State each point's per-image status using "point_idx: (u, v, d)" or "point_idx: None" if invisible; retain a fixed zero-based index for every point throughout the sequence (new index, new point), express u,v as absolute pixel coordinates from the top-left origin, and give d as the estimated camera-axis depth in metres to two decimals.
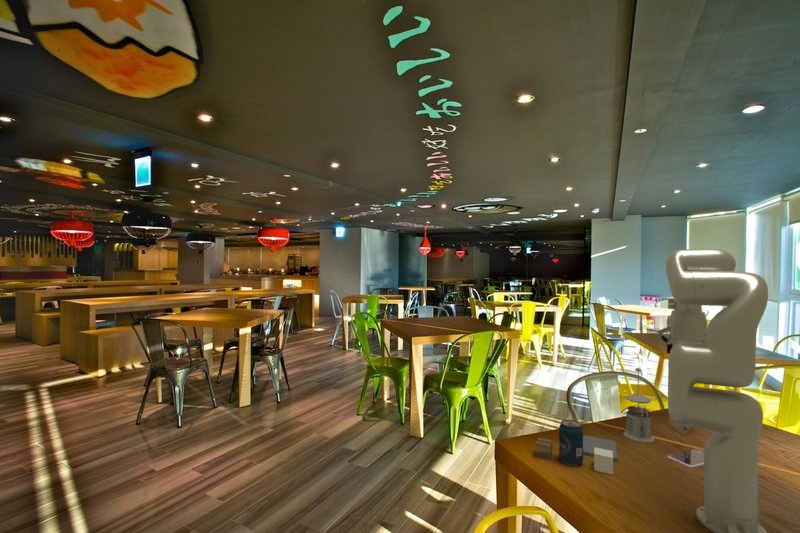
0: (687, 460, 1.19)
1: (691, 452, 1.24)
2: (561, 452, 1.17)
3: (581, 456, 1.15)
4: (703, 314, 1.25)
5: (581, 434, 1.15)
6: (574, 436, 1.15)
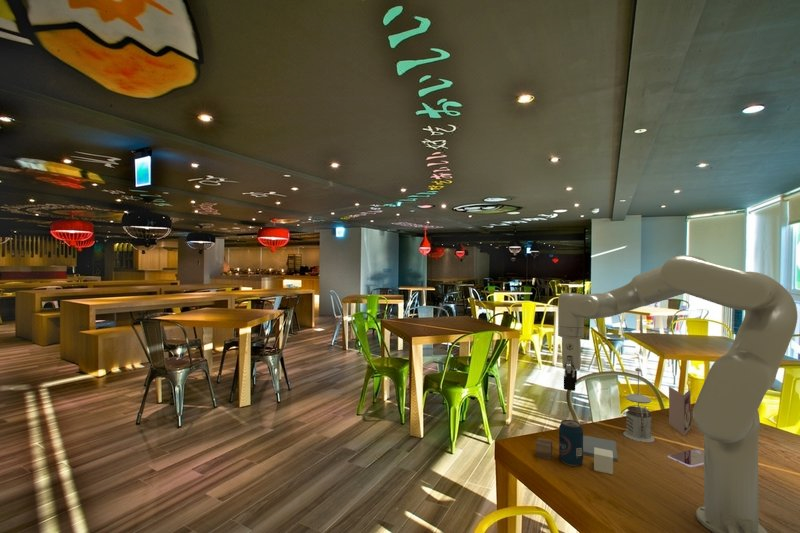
0: (687, 460, 1.19)
1: (691, 452, 1.24)
2: (561, 452, 1.17)
3: (581, 456, 1.15)
4: None
5: (581, 434, 1.15)
6: (574, 436, 1.15)
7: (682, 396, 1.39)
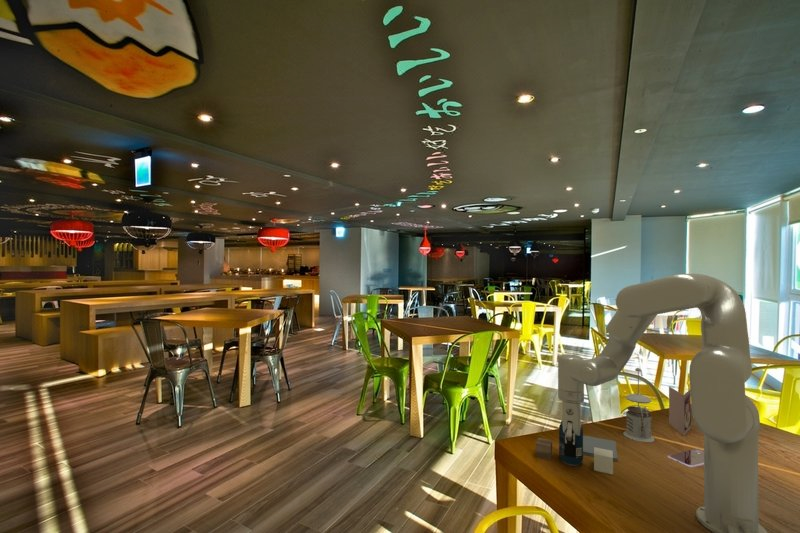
0: (687, 460, 1.18)
1: (691, 452, 1.24)
2: (561, 452, 1.17)
3: (581, 456, 1.15)
4: None
5: (581, 434, 1.16)
6: None
7: (682, 396, 1.39)
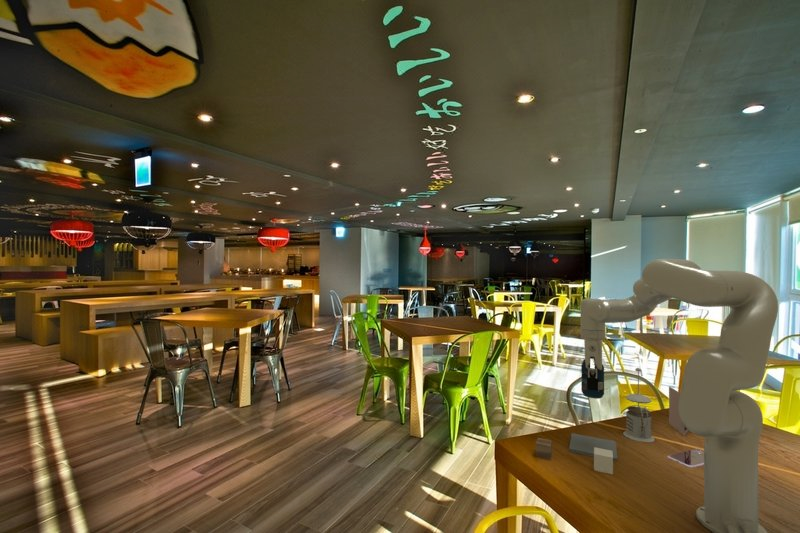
0: (687, 460, 1.18)
1: (691, 452, 1.24)
2: (584, 387, 1.27)
3: (603, 389, 1.25)
4: None
5: (602, 369, 1.26)
6: None
7: None
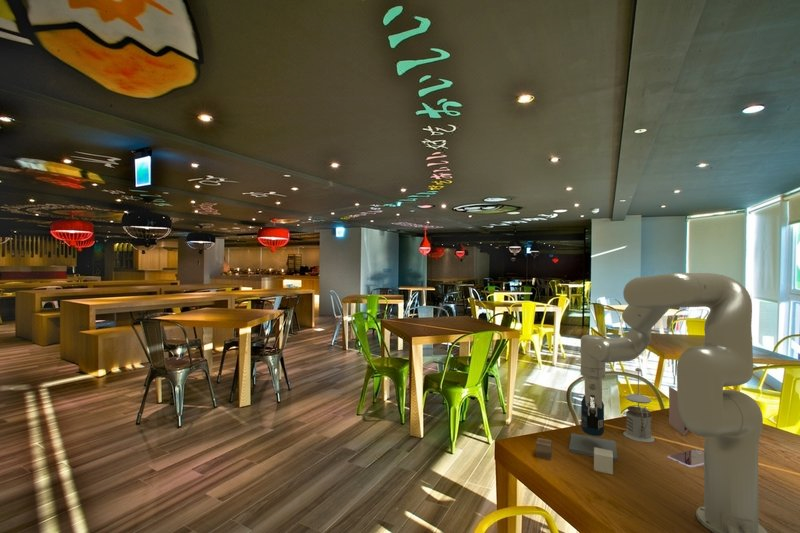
0: (687, 460, 1.18)
1: (691, 453, 1.24)
2: (583, 424, 1.27)
3: (602, 427, 1.25)
4: None
5: (602, 407, 1.25)
6: None
7: None
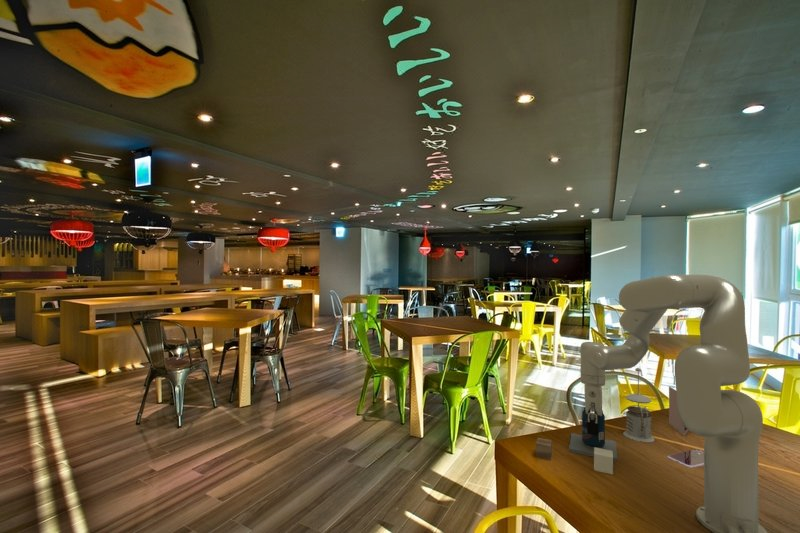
0: (687, 460, 1.18)
1: (691, 453, 1.24)
2: (584, 436, 1.27)
3: (603, 439, 1.25)
4: None
5: (603, 419, 1.25)
6: (597, 421, 1.24)
7: None
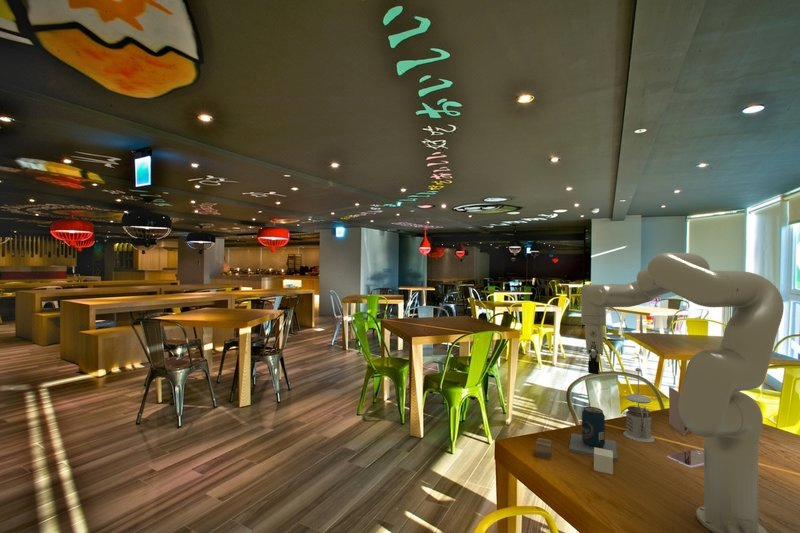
0: (687, 460, 1.18)
1: (691, 453, 1.23)
2: (584, 436, 1.27)
3: (603, 439, 1.25)
4: None
5: (603, 419, 1.25)
6: (597, 421, 1.24)
7: None
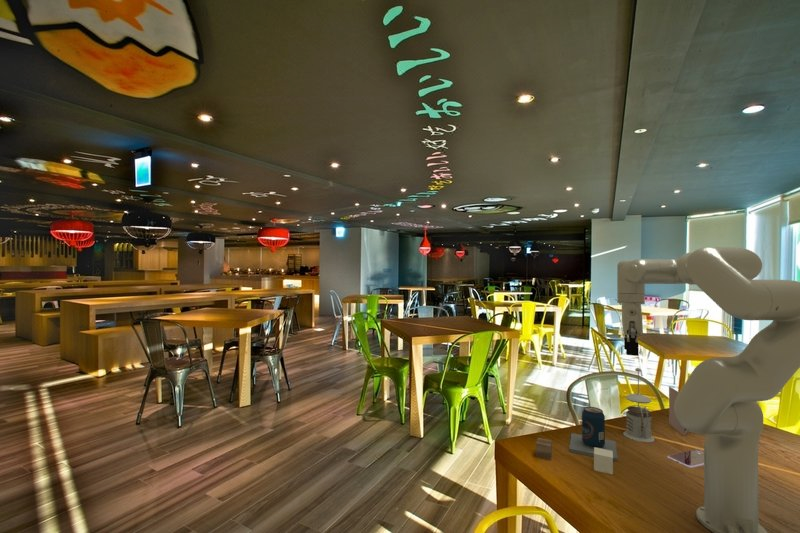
0: (687, 460, 1.18)
1: (692, 453, 1.23)
2: (584, 436, 1.27)
3: (603, 439, 1.25)
4: None
5: (603, 419, 1.25)
6: (597, 421, 1.24)
7: None
